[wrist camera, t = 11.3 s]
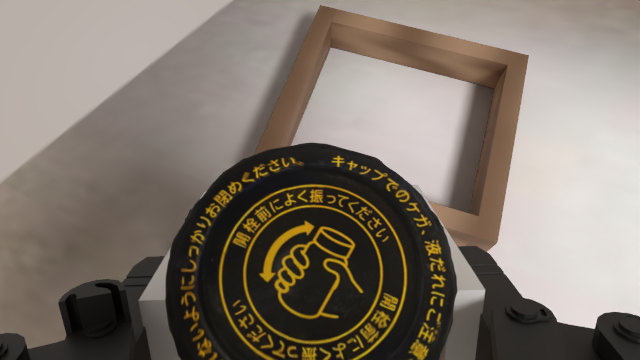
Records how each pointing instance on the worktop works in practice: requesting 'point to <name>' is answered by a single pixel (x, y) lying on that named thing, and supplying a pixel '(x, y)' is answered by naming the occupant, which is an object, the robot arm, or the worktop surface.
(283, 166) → the condiment
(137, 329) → the robot arm
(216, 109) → the worktop surface
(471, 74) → the pocket
